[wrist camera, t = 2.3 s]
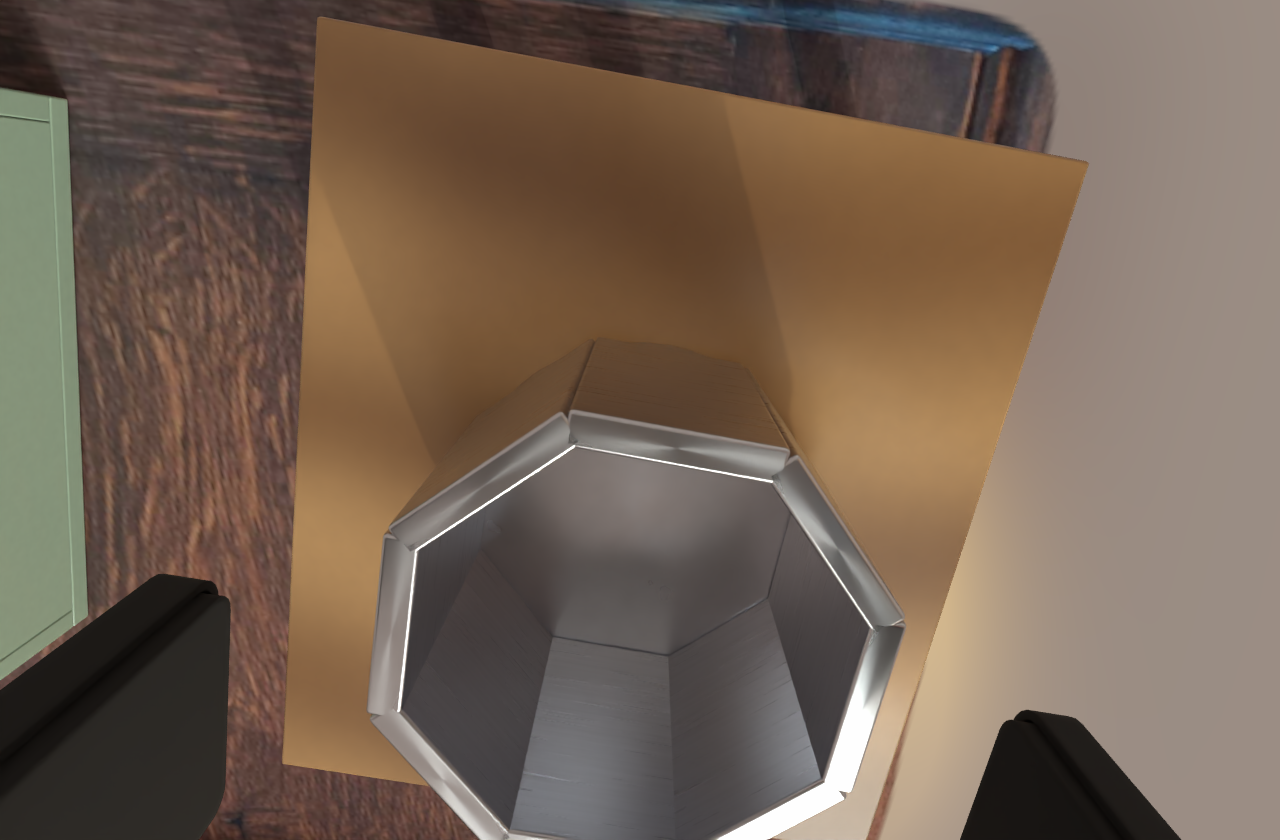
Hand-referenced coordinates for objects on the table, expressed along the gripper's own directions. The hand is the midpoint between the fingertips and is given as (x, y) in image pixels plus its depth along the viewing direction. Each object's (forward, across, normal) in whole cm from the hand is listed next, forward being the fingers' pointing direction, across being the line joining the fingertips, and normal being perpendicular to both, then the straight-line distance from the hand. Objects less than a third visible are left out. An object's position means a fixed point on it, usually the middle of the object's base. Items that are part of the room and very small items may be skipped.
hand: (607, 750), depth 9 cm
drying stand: (+19, 0, -1) cm, 19 cm away
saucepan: (+7, 0, +4) cm, 8 cm away
